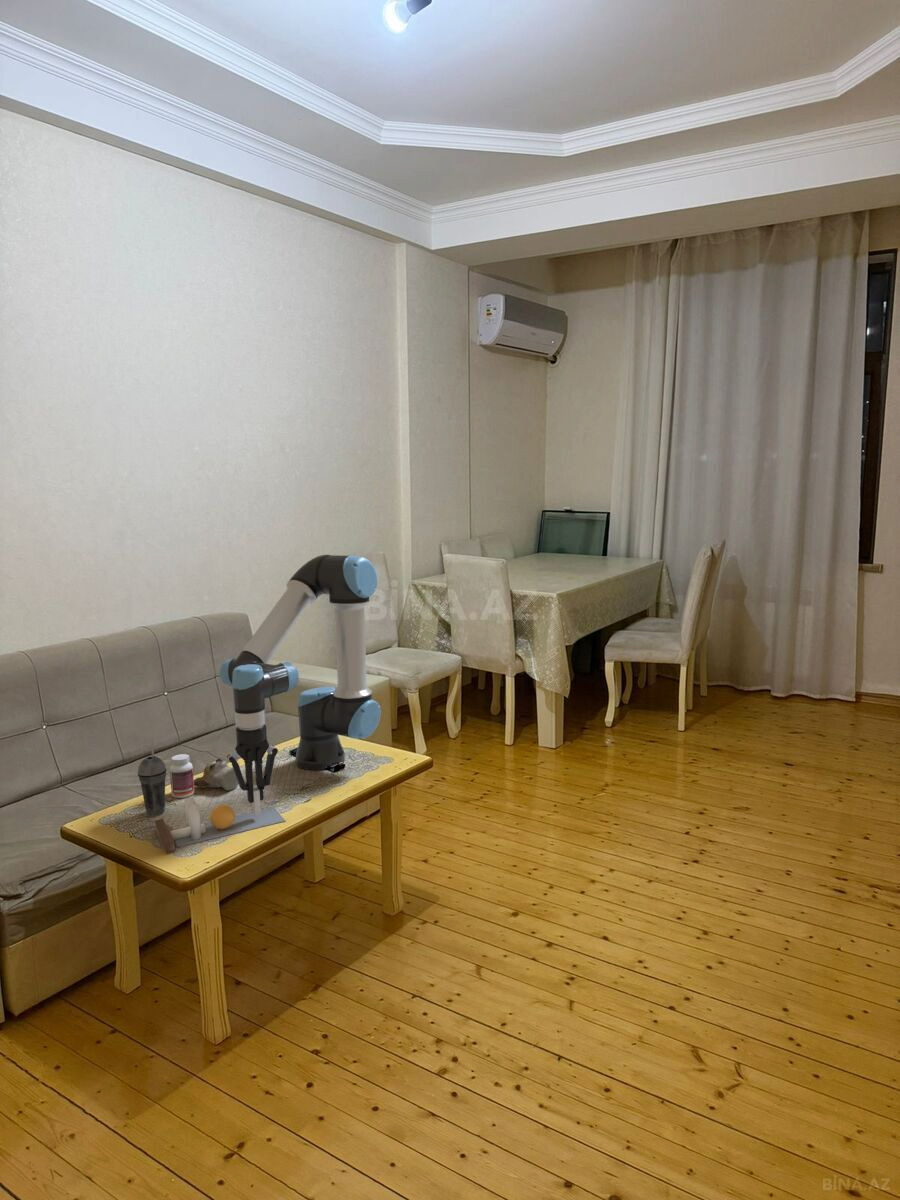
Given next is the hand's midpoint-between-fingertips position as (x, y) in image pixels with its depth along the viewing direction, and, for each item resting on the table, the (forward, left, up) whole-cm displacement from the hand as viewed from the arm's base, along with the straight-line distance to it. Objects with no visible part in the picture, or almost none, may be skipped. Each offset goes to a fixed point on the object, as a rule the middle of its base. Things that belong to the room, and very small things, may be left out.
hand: (256, 812), depth 207 cm
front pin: (+13, 0, -1) cm, 13 cm away
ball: (+9, 0, +1) cm, 9 cm away
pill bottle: (+13, -28, -2) cm, 31 cm away
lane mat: (+7, 0, -2) cm, 8 cm away
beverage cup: (+22, -19, -2) cm, 29 cm away
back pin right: (+16, -2, -2) cm, 16 cm away
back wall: (+23, 0, -2) cm, 23 cm away
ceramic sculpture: (+3, -28, -2) cm, 29 cm away
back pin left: (+16, +2, -2) cm, 16 cm away
